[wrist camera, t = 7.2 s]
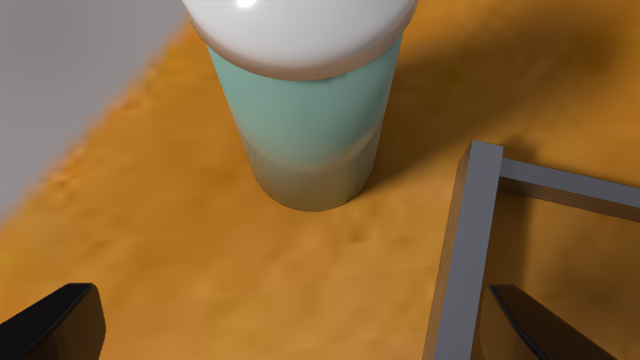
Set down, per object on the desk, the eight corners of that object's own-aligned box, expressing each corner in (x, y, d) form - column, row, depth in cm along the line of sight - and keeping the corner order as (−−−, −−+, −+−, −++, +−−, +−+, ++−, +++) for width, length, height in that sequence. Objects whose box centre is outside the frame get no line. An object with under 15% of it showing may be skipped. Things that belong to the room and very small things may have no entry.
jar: (362, 230, 23) (402, 71, 11) (228, 198, 24) (124, 11, 12) (391, 107, 25) (453, -148, 13) (266, 79, 26) (210, -191, 13)
